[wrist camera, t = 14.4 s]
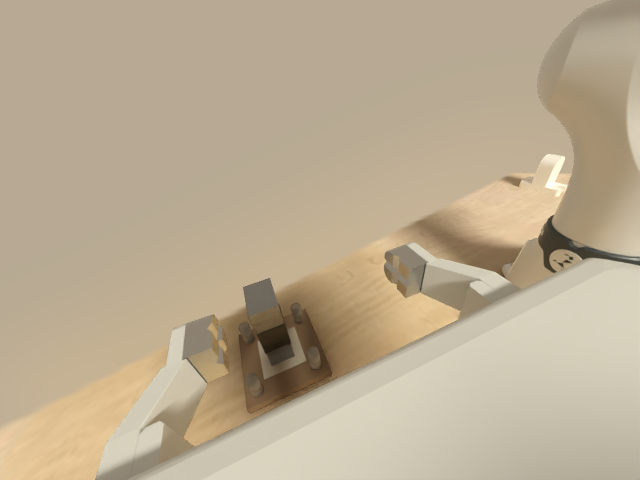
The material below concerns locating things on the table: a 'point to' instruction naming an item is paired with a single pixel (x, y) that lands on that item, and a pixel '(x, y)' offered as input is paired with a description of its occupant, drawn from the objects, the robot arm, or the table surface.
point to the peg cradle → (287, 375)
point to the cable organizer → (546, 177)
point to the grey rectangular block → (268, 321)
